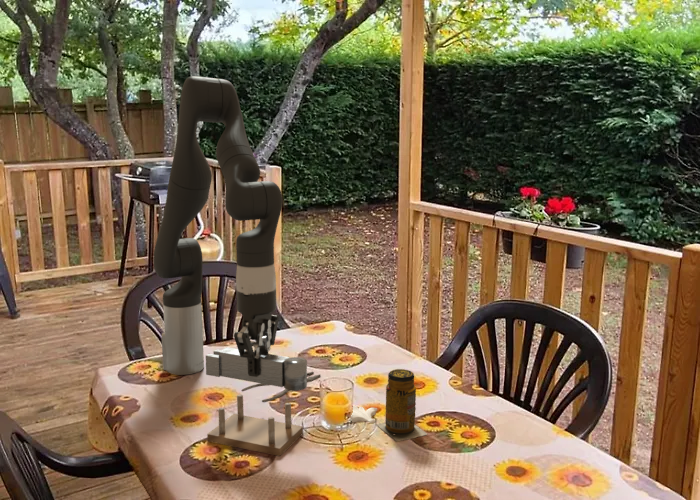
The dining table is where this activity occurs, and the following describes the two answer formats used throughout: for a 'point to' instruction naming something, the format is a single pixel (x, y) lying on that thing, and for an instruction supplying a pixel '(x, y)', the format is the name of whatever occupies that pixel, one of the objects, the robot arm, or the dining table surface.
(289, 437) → the rack
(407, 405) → the condiment
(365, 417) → the acanthus leaf ornament
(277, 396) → the pliers
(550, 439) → the dining table surface
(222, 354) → the grey metal bar
